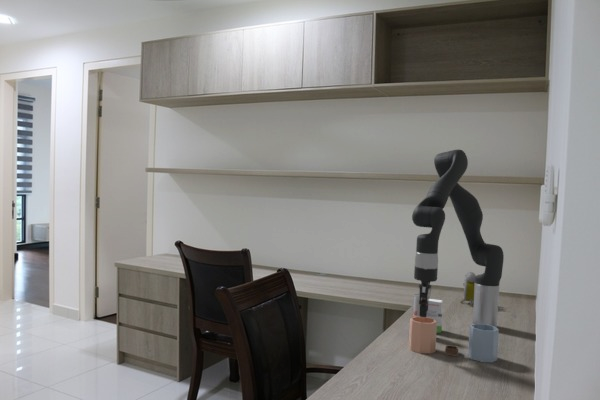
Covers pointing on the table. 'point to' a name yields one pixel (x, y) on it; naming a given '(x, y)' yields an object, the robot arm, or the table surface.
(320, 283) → the table surface
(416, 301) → the beverage can
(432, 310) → the ink box
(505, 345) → the table surface
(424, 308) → the robot arm
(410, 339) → the tube terracotta
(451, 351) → the brown square tube
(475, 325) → the tube slate
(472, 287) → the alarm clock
